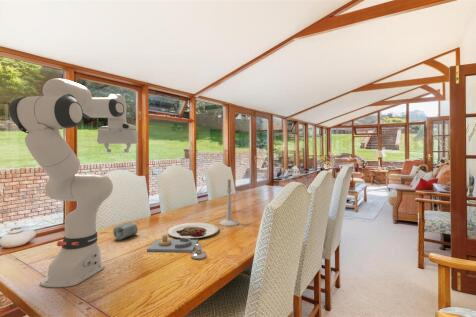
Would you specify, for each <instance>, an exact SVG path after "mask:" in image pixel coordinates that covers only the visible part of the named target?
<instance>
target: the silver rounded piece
mask: <svg viewBox="0 0 476 317" xmlns="http://www.w3.org/2000/svg"><path fill="white" fill-rule="evenodd" d="M202 246H203V244H202V243H201V242H198V243H196V244H195V248H194V250H193V252H190V259H191V260H195V261H200V260H204V259H206V258H207V251H205V250H202V249H203V248H202Z"/></svg>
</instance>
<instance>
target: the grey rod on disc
mask: <svg viewBox="0 0 476 317" xmlns="http://www.w3.org/2000/svg"><path fill="white" fill-rule="evenodd" d="M231 182H232V180H231V179H230V178H228V179H227V189H226V191H227V192H226V193H227V203H226V206H227V207H226V218H225V219H223V220H221V221H219V225H220V226H222V227H236V226H238V225H239V224H240V223H239V221H238V220H236V219H233V217H232V216H233V213H232V197H231V196H232V195H231V193H232V190H233V189H232V186H231Z"/></svg>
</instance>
